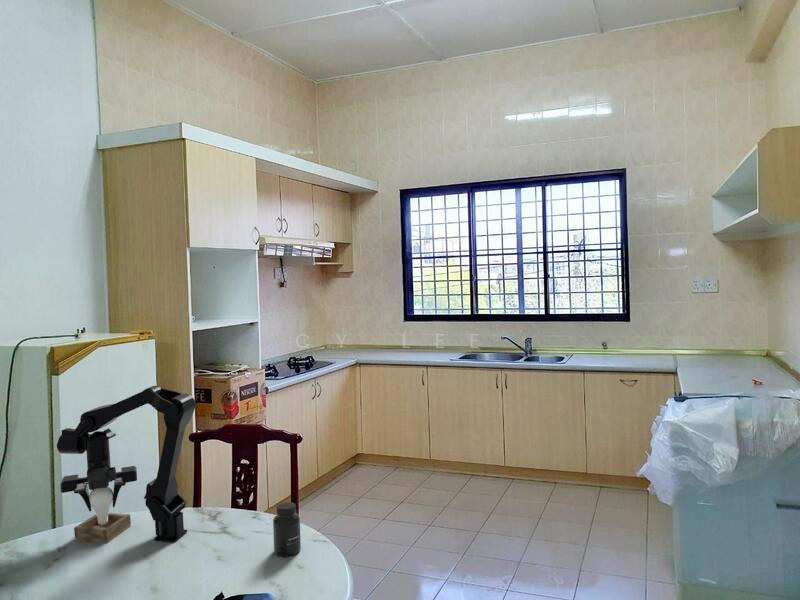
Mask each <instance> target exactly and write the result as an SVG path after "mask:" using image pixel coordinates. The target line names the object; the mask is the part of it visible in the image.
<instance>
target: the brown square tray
mask: <svg viewBox="0 0 800 600" xmlns="http://www.w3.org/2000/svg"><path fill="white" fill-rule="evenodd" d="M131 521H132V520H131V514H129V513H128V514H127V513H126V514H125V513H114V512H109V514H108V522H107V523H106V524H105V525H100V524H98V520H97V517H96V514H94V515H93V516H91V517H89V518H87V519H86V520H85V521H83V522H81V523H79V524H78V525H76V526H75V527H74V528H73V531H74V533H73V534H74V541H80V542H89V543H90V542H93V543H105V544H106V543H110V542H112V541H113V540H114V539H115V538H117V537H118V536H120V535H121V534H123V533H124V532H125V531H127V530H128V529H129V528H130V527H132V525H131Z"/></svg>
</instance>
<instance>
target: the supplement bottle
mask: <svg viewBox="0 0 800 600" xmlns="http://www.w3.org/2000/svg"><path fill="white" fill-rule="evenodd" d="M296 506H297V505H296V503H295V502H290V501H283V502H281V503H279V504H277V506H276V513H275V514H276V515H275V516H274V517H273V519H272V527H273V528H272V530H273V531H272V532H273V552H274V554H275V555H276V556H278V557H291V556H295V555H297V554H298V553H299V552H300V551H301V548H302V547H301V546H302V545H301V544H302V543H301V540H302V539H301V537H302V536H301V535H302V534H301V518H300V515H299V514H298V513H297V509H296V508H297V507H296Z"/></svg>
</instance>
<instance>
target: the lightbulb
mask: <svg viewBox="0 0 800 600" xmlns="http://www.w3.org/2000/svg"><path fill="white" fill-rule="evenodd" d="M113 492H114V490H113V488H110V487H109V486H108V487H106V488H98V489H95V490H90V492H89V502H90V504H91V508H93V510H94V512H95V515H96V517H97V520H98V524H100V525H105V524H106V523H107V522H108V514H109V513H110V507H111V504H113Z"/></svg>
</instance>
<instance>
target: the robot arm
mask: <svg viewBox="0 0 800 600" xmlns="http://www.w3.org/2000/svg"><path fill="white" fill-rule="evenodd" d="M145 405H150V406H151V407H153V408H154V410H155V411H157V412H158V413H161V414H163V421H164V424H165V434H164V439H163V442H162V443H163V444H162V448H161V455H160V460H159V465H158V470H157V475H156V477H155V478H154V479H153V480H151V481H150V482H149V483H147V484H146V487H145V489H146V490H145V495H144V497H143V499H144V500H145V502H144V503H145V507H147V509H148V511H149V513H150V515H151V517H152V520H153V521H154V526H155V527H154V528H155V537H154V538H153V541H156V542H158V541H159V542H169V543H175V542H177V541H178V540H179V539H180V538H181V537H183V536H184V535H186V533H188V529H185V528H184V526H185V525H184V513H183V512H182V510H184V509H185V508H186V505H187V500H186V499H185V498H184V497H183V496H182V495H180V493H179V492H178V490H179V489H178V487H179V485H178V481H177V478H176V475H177V470H178V465H179V460H180V454H181V450H182V443H183V439H184V434H185V430H186V427H187V425H188V424H189V422H190V420H191V419H192V417H193V415H194V412H195V410H196V407H197V402H196V400H195V398H194V397H193V396H192V395H191V394H189V393H182V392H179V391H175V390H173V389H172V390H171V389H167V388H163V387H162V386H159V385H152V386H150V387H147V388H145V389H143V390H142V391H140V392H138V393H136V394H134V395H132V396H129V397H126V398H125V399H122V400H120V401H118V402H115V403H111V404H106V405H101V406H97V407H95V408H92V409H89V410H88V411H85V412H83V413H82V414H81V415H80V419H79V420H80V421H79V423H78V425H77V426H76V428H71V427H69V428H68V427H67V428H64V429H62V430H61V431H60V432H61V434H60V436H59V438H58V440H57V443H56V448H57V452H58V453H60V454H69V455H70V454H71V455H72V454H73V455H75V454H76V455H82V454H84V453H85V452H86V464H87V466H86V467H87V469H86V476H85V477H80V476H79V474H72V475H64V476H63V478H62V479H61V481H60V493H62V494H63V493H69V492H71V493H72V492H73V494H77V495H78V494H79V495H80V497H81V498H82V500H83V501H84V503H85V505H86V507H87V509H88V511H89V512H92V505H91V504H90V502H89V495H90V491H92V490H95V489H98V488H106V487H109V486H110V484H109V483H110V482H111V483H112V482H113V500H112V508H115V506H116V502H117V500H118V495H119V493H120V490H121V488H122V487H123V486H124V487H125V486H126V483H127V484H128V483H133V482H137V481H138V470H137V467H136V466H135V465H132V466H124V467H121V468H120V470H121V471H117V470H116V466H111V451H110V440H111V439H112V438H114V437H116V436H117V433H116V432H114V431H112V430H111V428H109V427H108V428H106V429H104V430H100V429H103V428H104V427H107V426H109V425H110V424H112V423H113V422H115V421H116V420H117V419H118V418H119V417H121V416H122V415H124V414H127V413H129V412H131V411H134V410H137V409H138V408H140V407H143V406H145ZM89 490H90V491H89Z"/></svg>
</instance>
